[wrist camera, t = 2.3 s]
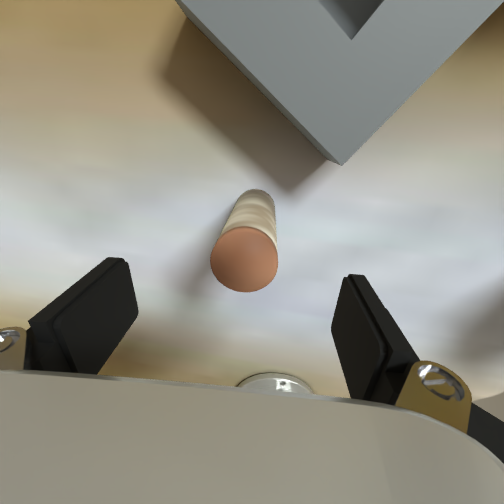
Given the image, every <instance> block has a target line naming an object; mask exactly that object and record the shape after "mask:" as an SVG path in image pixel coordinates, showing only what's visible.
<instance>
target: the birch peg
mask: <svg viewBox="0 0 504 504" xmlns="http://www.w3.org/2000/svg"><path fill="white" fill-rule="evenodd" d="M210 264H211V269H212V271H213V274H214V275H215V277H216V278H217V280H218V281H219V282H220V283H222V284H223V285H224V286H226V287H227V288H229V289H232V290H234V291H238V292H253V291H257V290H260V289H262V288H264V287H265V286H267V285H268V284H269V283H270V282H271V281H272V280H273V278H274V277H275V275H276V272H277V268H278V255H277V237H276V220H275V205H274V201H273V199H272V198H271V196H270V195H269V194H268V193H266V192H265V191H263V190H259V189H251V190H248V191H246V192H244V193H243V194H242V195H241V196H240V197H239V199H238V201H237V203H236V205H235V206H234V208H233V210H232V212H231V214H230V216H229V218H228V220H227V222H226V224H225V226H224V228H223V230H222V232H221V234H220V236H219V238H218V240H217V242H216V244H215V246H214V248H213V250H212V253H211V257H210Z"/></svg>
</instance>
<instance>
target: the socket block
mask: <svg viewBox="0 0 504 504" xmlns="http://www.w3.org/2000/svg"><path fill="white" fill-rule="evenodd" d="M175 1H176V2H177V3H178V5H179V6H180V8H181V9H182V11H183V12H184V13H185V15H186V16H187V17H188V18H189V19H190V20H191V21H192V22H193V23H194V24H195V25H196V26H197V27H198V28H199V29H200V30H201V31H202V32H203V33H204V34H205V35H206V36H207V37H208V38H209V39H210V40H211V42H212V43H213V44H214V45H215V46H216V47H217V48H218V49H219V50H220V51H221V52H222V53H223V54H224V55H225V56H226V57H227V58H228V59H229V60H230V61H231V62H232V63H233V64H234V65H235V66H236V67H237V68H238V69H239V70H240V71H241V72H242V73H243V74H244V75H245V76H246V77H247V78H248V79H249V80H250V81H251V82H252V83H253V84H254V85H255V86H256V87H257V88H258V89H259V90H260V91H261V92H262V93H263V94H264V95H265V96H266V97H267V98H268V99H269V100H270V101H271V102H272V103H273V104H274V105H275V106H276V108H277V109H278V110H279V111H280V112H281V113H282V114H283V115H284V116H285V117H286V118H287V119H288V120H289V121H290V122H291V123H292V124H293V125H294V126H295V127H296V128H297V129H298V130H299V131H300V132H301V133H302V134H303V135H304V136H305V137H306V138H307V139H308V140H309V141H310V142H311V143H312V144H313V145H314V146H315V147H316V148H317V149H318V150H319V151H320V152H321V153H322V154H323V155H324V156H325V157H326V158H327V159H328V160H330V161H332V162H334V163H337V164H339V165H341V166H342V165H343V164H344V163H345V162H346V161H347V160H348V159H349V158H350V157H351V156H352V155H353V154H354V153H355V152H356V151H357V150H358V149H359V148H360V147H361V146H362V145H363V144H364V143H365V142H366V141H367V140H368V139H369V138H370V137H371V136H372V135H373V134H374V133H375V132H376V131H377V130H378V129H379V128H380V127H381V126H382V125H383V124H384V123H385V122H386V121H387V120H388V119H389V118H390V117H391V116H392V115H393V114H394V113H395V112H396V111H397V110H398V108H399V107H400V106H401V105H402V104H403V103H404V102H405V101H406V100H407V99H408V98H409V97H410V96H411V95H412V94H413V93H414V92H415V91H416V90H417V89H418V88H419V87H420V86H421V85H422V84H423V83H424V82H425V81H426V80H427V79H428V78H429V77H430V76H431V75H432V74H433V73H434V72H435V71H436V70H437V69H438V68H439V67H440V66H441V65H442V64H443V63H444V62H445V61H446V60H447V59H448V58H449V57H450V56H451V55H452V54H453V53H454V52H455V51H456V50H457V49H458V48H459V47H460V46H461V45H462V43H463V42H464V41H465V40H466V39H467V38H468V37H469V36H470V35H471V34H472V33H473V32H474V31H475V30H476V29H477V28H478V27H479V26H480V25H481V24H482V23H483V22H484V21H485V20H486V19H487V18H488V17H489V16H490V15H491V14H492V13H493V12H494V11H495V10H496V9H497V8H498V7H499V6H500V5H501V4H502V3H503V2H504V0H175Z"/></svg>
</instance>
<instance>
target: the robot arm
mask: <svg viewBox="0 0 504 504" xmlns="http://www.w3.org/2000/svg"><path fill="white" fill-rule="evenodd" d="M137 316H138V306H137V301H136V297H135V292H134V287H133V283H132V278H131V273H130V269H129V265H128V263H127V262H125V260H124V259H123V258H114V257H108V258H106V259H105V260H104V261H102V262H101V263H100V264H99V265H97V266H96V267H95V268H94V269H92V270H91V271H90V272H89V273H87V274H86V275H85V276H84V277H82V278H81V279H80V280H79V281H77V282H76V283H75V284H74V285H72V286H71V287H70V288H69V289H67V290H66V291H65V292H64V293H62V294H61V295H60V296H59V297H57V298H56V299H55V300H54V301H52V302H51V303H50V304H49V305H47V306H46V307H45V308H44V309H42V310H41V311H40V312H39V313H37V314H36V315H35V316H34V317H32V318H31V319H30V320H29V321H28V322H29V324H30V326H31V327H30V328H29V329H28V330H27V331H26V330H25V329H23V328H21V327H7V328H3V329H0V504H504V422H502V421H501V420H499V419H498V418H496V417H494V416H493V415H491V414H490V413H488V412H486V411H485V410H483V409H481V408H480V407H478V406H477V405H475V404H473V403H472V396H471V392H470V390H469V388H468V386H467V385H466V384H465V382H464V381H463V380H462V379H461V378H460V377H459V376H458V375H456V374H455V373H454V372H453V371H451V370H449V369H448V368H446V367H444V366H442V365H440V364H438V363H435V362H431V361H420V359H419V358H418V356H417V355H416V353H415V352H414V350H413V349H412V347H411V345H410V344H409V342H408V341H407V339H406V338H405V336H404V335H403V333H402V331H401V330H400V328H399V327H398V325H397V324H396V322H395V321H394V319H393V317H392V316H391V314H390V313H389V311H388V310H387V309H386V308H385V307H384V305H383V304H382V302H381V301H380V299H379V298H378V296H377V294H376V293H375V291H374V290H373V288H372V287H371V285H370V283H369V282H368V280H367V279H366V277H365V276H364V275H356V274H349V275H348V277H344V278H343V281H342V285H341V289H340V293H339V297H338V301H337V305H336V309H335V313H334V317H333V321H332V325H331V332H332V336H333V340H334V343H335V346H336V350H337V353H338V356H339V360H340V363H341V366H342V370H343V373H344V376H345V380H346V383H347V386H348V390H349V393H350V397H351V399H350V398H341V397H332V396H324V395H315V394H314V393H313V391H312V390H311V388H310V387H309V386H308V385H307V384H305V383H304V382H303V381H301V380H299V379H297V378H295V377H293V376H289V375H286V374H280V373H264V374H259V375H255V376H252V377H250V378H248V379H246V380H244V381H243V382H241V383H240V384H239V385H238V387H232V386H221V385H210V384H199V383H187V382H176V381H165V380H154V379H142V378H130V377H118V376H106V375H97V374H98V372H99V371H100V369H101V368H102V366H103V365H104V364H105V362H106V361H107V359H108V358H109V356H110V355H111V354H112V352H113V351H114V349H115V348H116V346H117V345H118V344H119V342H120V341H121V339H122V338H123V337H124V335H125V334H126V332H127V331H128V329H129V328H130V327H131V325H132V324H133V322H134V321H135V319H136V318H137Z"/></svg>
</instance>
